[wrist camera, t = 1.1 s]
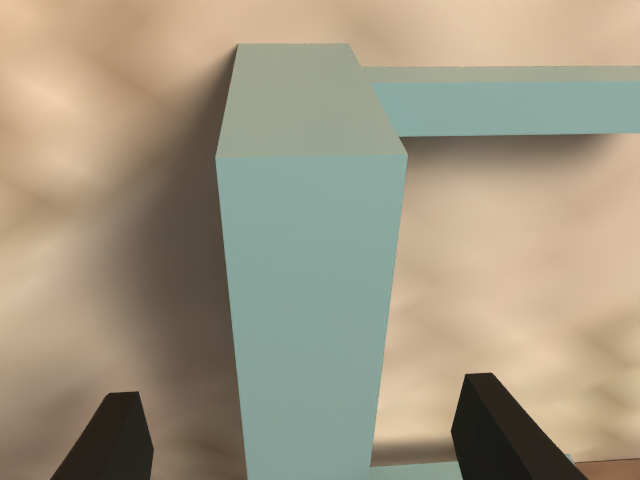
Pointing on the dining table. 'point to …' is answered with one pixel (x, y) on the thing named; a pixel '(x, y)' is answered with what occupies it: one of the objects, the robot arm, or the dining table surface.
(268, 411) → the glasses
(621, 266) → the dining table surface
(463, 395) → the robot arm
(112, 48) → the dining table surface
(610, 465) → the display stand
